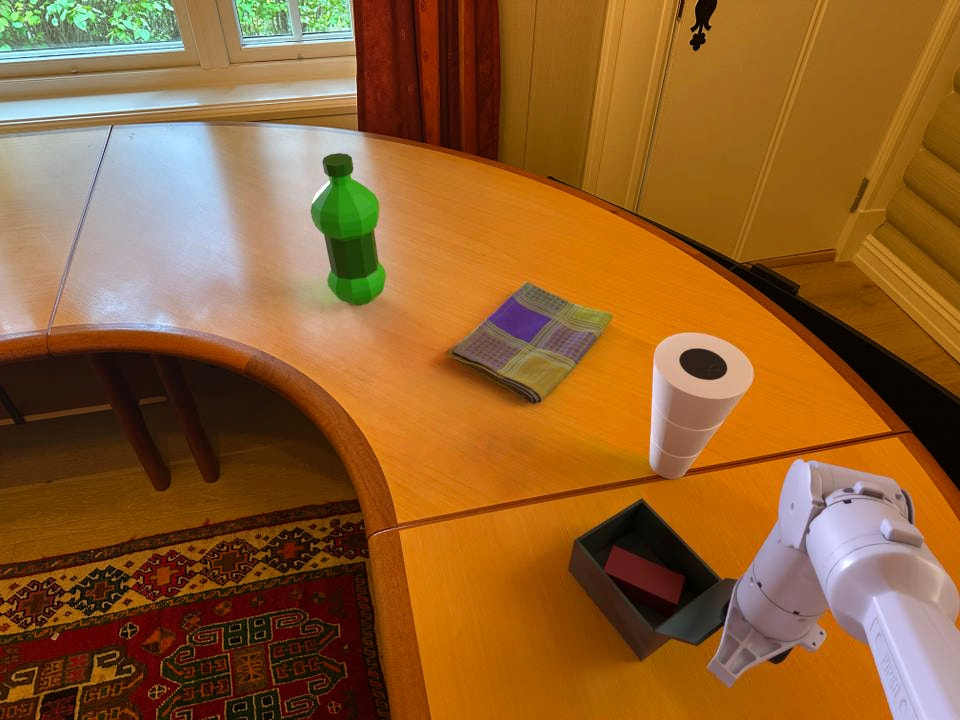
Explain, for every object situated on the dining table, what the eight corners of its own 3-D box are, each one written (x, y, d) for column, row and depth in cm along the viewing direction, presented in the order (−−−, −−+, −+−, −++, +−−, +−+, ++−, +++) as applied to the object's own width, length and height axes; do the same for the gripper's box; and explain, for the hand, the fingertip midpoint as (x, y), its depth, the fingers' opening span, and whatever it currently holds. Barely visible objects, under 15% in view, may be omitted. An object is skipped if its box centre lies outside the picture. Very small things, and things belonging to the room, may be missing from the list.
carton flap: (725, 577, 60) (727, 581, 60) (654, 630, 56) (656, 634, 56) (770, 583, 55) (772, 587, 55) (695, 642, 51) (697, 647, 51)
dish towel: (616, 326, 100) (619, 312, 98) (534, 413, 86) (535, 399, 84) (528, 287, 108) (529, 274, 106) (440, 361, 93) (439, 347, 92)
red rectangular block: (679, 590, 66) (685, 576, 64) (671, 618, 64) (677, 605, 62) (609, 558, 69) (613, 544, 67) (598, 584, 67) (602, 571, 65)
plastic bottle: (375, 319, 101) (354, 179, 84) (319, 307, 103) (287, 169, 86) (399, 285, 108) (384, 150, 91) (346, 275, 110) (321, 141, 93)
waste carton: (708, 610, 65) (724, 582, 60) (640, 662, 61) (653, 635, 57) (632, 528, 72) (642, 497, 68) (567, 569, 68) (573, 539, 64)
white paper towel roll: (726, 467, 79) (772, 367, 66) (677, 513, 74) (717, 414, 61) (659, 420, 85) (690, 320, 72) (610, 460, 79) (634, 360, 67)
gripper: (796, 692, 40) (737, 749, 49) (888, 554, 47) (821, 627, 56) (703, 613, 44) (664, 680, 53) (801, 497, 50) (752, 574, 60)
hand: (740, 649), depth 55 cm, fingers closed, pressing on carton flap
